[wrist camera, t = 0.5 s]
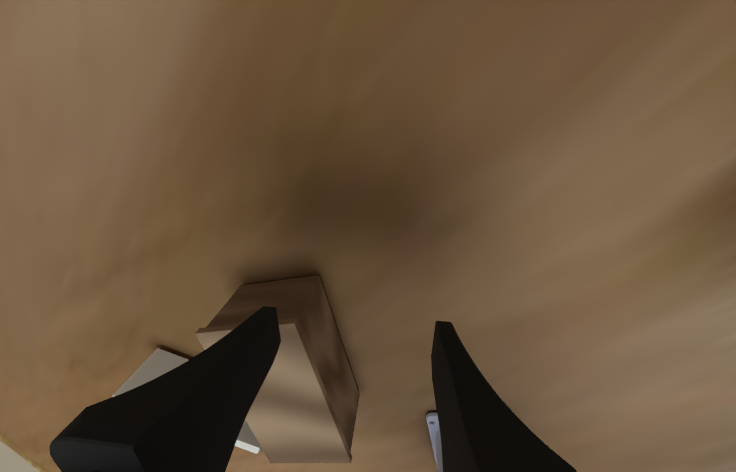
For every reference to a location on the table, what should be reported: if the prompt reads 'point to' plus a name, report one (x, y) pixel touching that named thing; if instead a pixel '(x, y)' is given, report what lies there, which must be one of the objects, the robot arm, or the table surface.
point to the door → (164, 363)
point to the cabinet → (297, 373)
